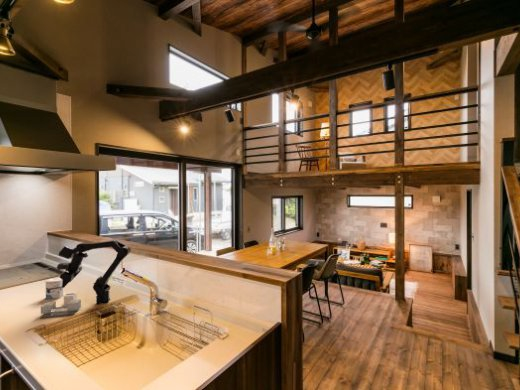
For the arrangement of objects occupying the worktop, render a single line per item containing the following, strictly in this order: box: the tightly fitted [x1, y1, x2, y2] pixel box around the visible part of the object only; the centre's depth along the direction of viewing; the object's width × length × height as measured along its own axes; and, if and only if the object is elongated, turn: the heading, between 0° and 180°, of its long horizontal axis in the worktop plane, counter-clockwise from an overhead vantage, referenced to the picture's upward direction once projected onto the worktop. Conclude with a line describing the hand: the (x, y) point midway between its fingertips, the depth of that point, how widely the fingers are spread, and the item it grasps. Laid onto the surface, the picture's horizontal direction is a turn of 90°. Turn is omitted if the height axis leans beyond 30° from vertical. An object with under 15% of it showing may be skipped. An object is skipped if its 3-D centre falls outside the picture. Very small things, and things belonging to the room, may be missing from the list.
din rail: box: [40, 298, 82, 320], centre depth 159 cm, size 18×12×6 cm, turn 106°
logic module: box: [63, 291, 78, 307], centre depth 172 cm, size 5×6×6 cm
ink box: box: [45, 278, 64, 300], centre depth 182 cm, size 8×5×12 cm, turn 105°
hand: (66, 284), depth 171 cm, fingers open, 9 cm apart
